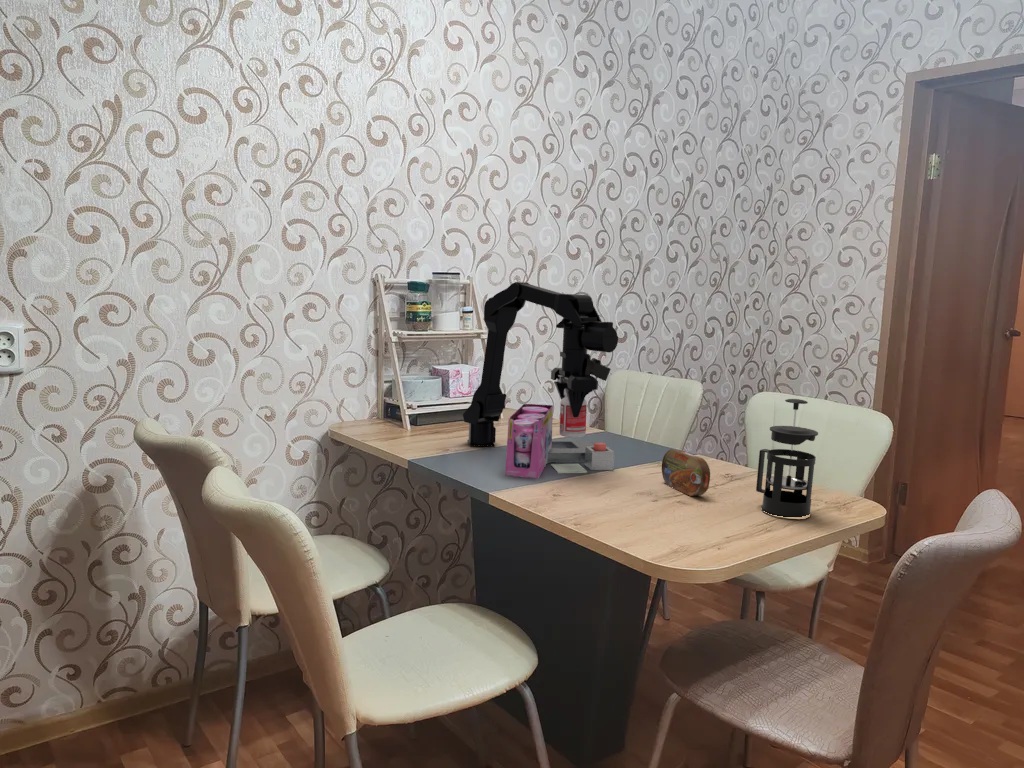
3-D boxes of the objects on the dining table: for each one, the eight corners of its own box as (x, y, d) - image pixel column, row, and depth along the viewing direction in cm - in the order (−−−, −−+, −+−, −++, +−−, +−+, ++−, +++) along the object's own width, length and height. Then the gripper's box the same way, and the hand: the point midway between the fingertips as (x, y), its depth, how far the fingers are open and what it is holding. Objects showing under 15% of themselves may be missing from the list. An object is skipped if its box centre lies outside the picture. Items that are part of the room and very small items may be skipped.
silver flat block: (542, 463, 175) (542, 453, 175) (530, 450, 188) (530, 441, 188) (604, 462, 179) (605, 452, 178) (588, 450, 191) (589, 440, 191)
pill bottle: (590, 435, 170) (592, 389, 168) (573, 439, 166) (575, 391, 164) (571, 431, 174) (572, 386, 173) (554, 434, 170) (555, 388, 169)
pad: (558, 473, 167) (558, 471, 167) (550, 465, 173) (550, 464, 173) (587, 472, 168) (587, 471, 168) (578, 465, 175) (578, 463, 175)
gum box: (538, 481, 160) (540, 422, 159) (503, 479, 162) (505, 419, 160) (551, 457, 184) (553, 404, 182) (521, 454, 185) (523, 403, 183)
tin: (659, 481, 163) (661, 445, 162) (671, 480, 164) (673, 444, 163) (698, 501, 149) (701, 461, 148) (711, 500, 151) (714, 461, 149)
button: (595, 457, 172) (596, 445, 171) (591, 454, 174) (592, 442, 174) (607, 457, 172) (608, 445, 172) (603, 454, 175) (604, 442, 175)
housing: (591, 470, 170) (592, 451, 170) (584, 464, 176) (585, 446, 175) (613, 470, 172) (614, 451, 171) (605, 464, 177) (606, 446, 176)
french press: (822, 515, 143) (834, 401, 140) (799, 524, 137) (811, 405, 134) (768, 500, 152) (778, 393, 148) (744, 508, 146) (754, 396, 142)
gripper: (621, 353, 160) (617, 422, 162) (595, 345, 178) (592, 407, 180) (573, 352, 157) (570, 422, 160) (551, 344, 176) (549, 407, 178)
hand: (571, 414), depth 169 cm, fingers closed on pill bottle, 6 cm apart
